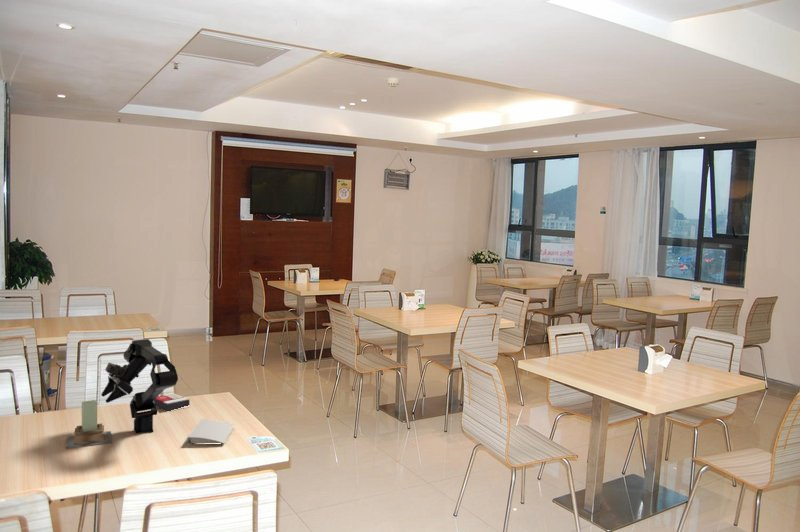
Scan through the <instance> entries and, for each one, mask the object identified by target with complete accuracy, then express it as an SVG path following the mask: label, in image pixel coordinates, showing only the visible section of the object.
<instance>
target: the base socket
mask: <svg viewBox="0 0 800 532" xmlns="http://www.w3.org/2000/svg"><path fill="white" fill-rule="evenodd" d="M112 443H113V442H112V431H111V430H109V431H108V430H107V431H105V425H104V424H103V423H102V422H101V423H97V431H87V432H82V424H81V425H76V427H75V428H74V433H73V435H72V434H71V435H67V438H66V446H65V448H66V449H72V448H80V447H88V446H89V447H90V446H91V447H92V446H97V445H105V444H112Z"/></svg>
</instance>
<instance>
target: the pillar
mask: <svg viewBox="0 0 800 532" xmlns="http://www.w3.org/2000/svg"><path fill="white" fill-rule="evenodd" d="M97 424H98V403H97V401H96V399H92V400H86V401H85V400H84V401H81V425H82V432H87V431H97Z"/></svg>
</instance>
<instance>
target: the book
mask: <svg viewBox="0 0 800 532" xmlns="http://www.w3.org/2000/svg"><path fill="white" fill-rule="evenodd" d="M233 425H235V424H234V423H231V422H228V421H224V420H218V419H217V420H216V419H211V418H210V419H209V418H201V419H200V420H199V421H198V422H197V424H196V425H195V426H194V428H193V429H192V431H191V432H190V433H189V435H187V440H189V441H190V443H191V444H192V443H194V444H193V445H197V444H196V443H222V444H225V443H226V441H227V440H228V438H229V436H230V435H231V433H232V431H233V429H234V428H233V427H232V426H233ZM232 428H233V429H232ZM230 432H231V433H230ZM229 434H230V435H229Z"/></svg>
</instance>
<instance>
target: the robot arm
mask: <svg viewBox="0 0 800 532" xmlns="http://www.w3.org/2000/svg"><path fill="white" fill-rule="evenodd" d="M123 359H124V360H125V361H126V362H127V363H128V364H124V365H122V366H121V365H120V364H117V363H112V362H108V363H107V366H106V368H105V369H104V370H105V371H106V373H108V376H107V379H108V382H107V384H106V386H105V387H104V389H103V391H102V392H101V394H100V395H101V396H102V397H105V396H107V395H109V396H108V397H107V398H106V399H105V402H106V403H110V402H111V403H112V402H113V401H115V400H118V399H119V398H122V397H125V396H128V395H131V394H132V392H133V391H134V388H133V386H132V383H131V382H133V380H135V378H138V377H140V373H141V372H142V371H144V369H145V368H146V367H147V366H148V365H149V366H152V368H151V369H150V373H149V374H150V375H149V376H150V379H151V382H152V383H151V384H150V386H149V387H147V388H146V390H145V391H141V392H136V393H135V394H134V395H133V396H132V398H131V401H130V402H129V410H130V415H131V419H133V431H134V432H135V434H145V433H146V434H147V433H153V432H154V422H153V421H154V416H157V414H158V407H156V404H155V401H154V400H155V399H156V398H157V397H158V396H161V393H162V392H164V390H166V389H170V388H173V387H174V386H176V385H177V383H178V381H179V376H178V372H177V370H176V366H175V365H174V364H173V363H172V362H171V361H170V360H169V357H168V356H167V354H166V353H163V352H161V351H159V350H158V349H157V348H155V347H153V342H152V341H151V340H150V339H148V338H145V339H142V338H141V339H135V340H134V339H133V340H131V343H130V344H129V346H128V347H127V348H126V350H125V351H124V353H123ZM160 365H164V367H165V368H167V369H168V371H167V370H165V371H159V372H156V366H160Z"/></svg>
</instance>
